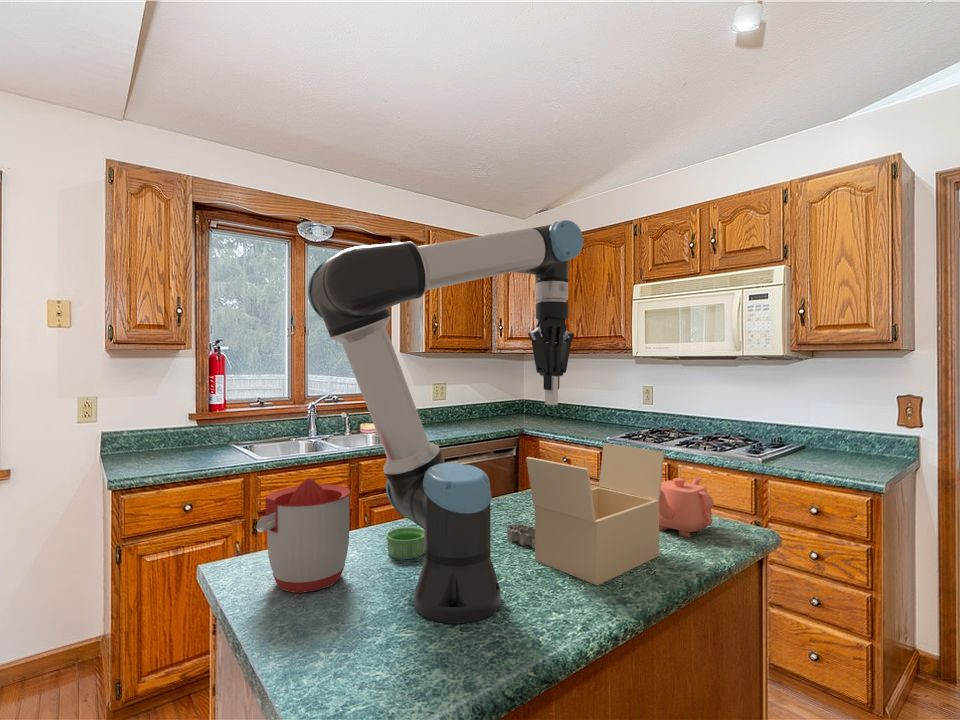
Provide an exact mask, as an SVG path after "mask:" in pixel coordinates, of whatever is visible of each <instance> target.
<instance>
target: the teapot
mask: <svg viewBox="0 0 960 720" xmlns="http://www.w3.org/2000/svg"><path fill="white" fill-rule="evenodd" d="M701 480H702V476H696V477H695V478H693V480H692V482H691V483H689V482H686V479H684V478H679V477H675V478H673V479H672V480H665V481H661V490H660V500H658V499H654V500H658V501H659V531H667V530H668V529H672V530H677V531H678V534H679V537H683V538H690V537H691V533H695V532H703V529H704V528H706V527H709V526H711V525H712V524H713V518H712V509H713V507H714V498H713V497H712V496H711V495H710V494H709V493H708V490H707V488H706V486H703V485H700V482H701ZM648 498H649V497H648ZM649 499H653V498H649Z"/></svg>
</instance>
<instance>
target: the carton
mask: <svg viewBox="0 0 960 720" xmlns="http://www.w3.org/2000/svg"><path fill="white" fill-rule="evenodd" d="M591 490H592V497H593V504H594V511H595V518H596V521H595V522H592V521H589V520H585V519H582V518H578V517H575V516H571V515H568V514H564V513H561V512H558V511H554V510H551V509H547V508H544V507H540V506H537V505H534V526H535V549H534V561H536V562H537V563H540V564H543V565H545V566H548V567H550V568H551V569H552V568H553V569H555V570H557V571H560V572H563V573H565V574H568V575H570V576H572V577H575V578H577V579H580V580H583V581H586V582H588V583H590V584H593V585H595V586H599V585H601V584H604V583H606V582H607V581H609V580H612V579H614V578H616V577H617V576H620V575H622V574H625V573H627V572H628V571H631V570H633V569H634V568H637V567H639V566H641V565H643V564H646V563H647V562H650V561H651V560H653V559H656V558H658V557H659V556H660V530H659V501H658V500H654V499H649V497H644V496H640V495H635V494H631V493H627V492H622V491H618V490H613V489H609V488H604V487H600V486H598V487H596V488H592V489H591Z"/></svg>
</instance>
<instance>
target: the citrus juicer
mask: <svg viewBox="0 0 960 720" xmlns="http://www.w3.org/2000/svg"><path fill="white" fill-rule="evenodd" d="M350 495H351V490H350V488H348V487H346V486H343V485H338V484H328V483H327V484H324V483H321V484H319V483H317V482H316V481H315V480H314V479H312V478H311V477H308V478H305V480H303V481H302V482H301V484H300V485H297V486H296V485H295V486H290V487H286V488H285V487H284V488H281V489H278V490H275V491H273V492H271V493H268V494H267V496H266V497H265V516H263V517H261V518H260V519H259V520H258V521H257V524H256V531H257V532H258V533H260V534H261V533H264V532H267V554H268V555H267V556H268V560H269V564H270V568H271V571H272V575H273V578H274V580H275V583H276V585H277V587H278V588H279V589H281V590H283V591H286V592H290V593H292V592H293V593H294V594H303V593H307V592H314V591H318V590H322V589H325V588H327V587H330V586H332V585H334V584H335V583H336V582H338V581H339V580H340V578H341V576H342V574H343V571H344V568H345V565H346V564H345V563H346V560H347V557H348V556H347V555H348V549H349V545H350V544H349V543H350V542H349V541H350ZM302 592H303V593H302Z"/></svg>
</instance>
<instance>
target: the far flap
mask: <svg viewBox="0 0 960 720" xmlns="http://www.w3.org/2000/svg"><path fill="white" fill-rule="evenodd" d="M602 446H603V447H602V455H601V464H600V471H599V473H600V474H599V478H598V479H599V480H598V487H600V488H605V489H609V490H614V491H618V492H622V493H627V494H631V495H636V496H640V497H645V498H653V499H658V500H660V490H661V482H662V479H663V469H664V459H665V451H662V450H655V449H649V448H642V447H635V446H629V445H628V446H627V445H619V444H612V443H606V442H603V445H602Z"/></svg>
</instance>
